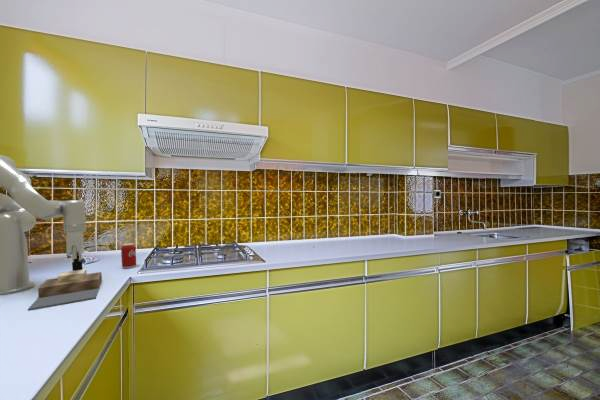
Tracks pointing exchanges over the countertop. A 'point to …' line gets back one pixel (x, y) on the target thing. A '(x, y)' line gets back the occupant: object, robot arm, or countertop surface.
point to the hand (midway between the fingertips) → (77, 270)
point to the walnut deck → (70, 285)
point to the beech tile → (72, 276)
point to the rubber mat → (64, 299)
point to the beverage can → (128, 255)
